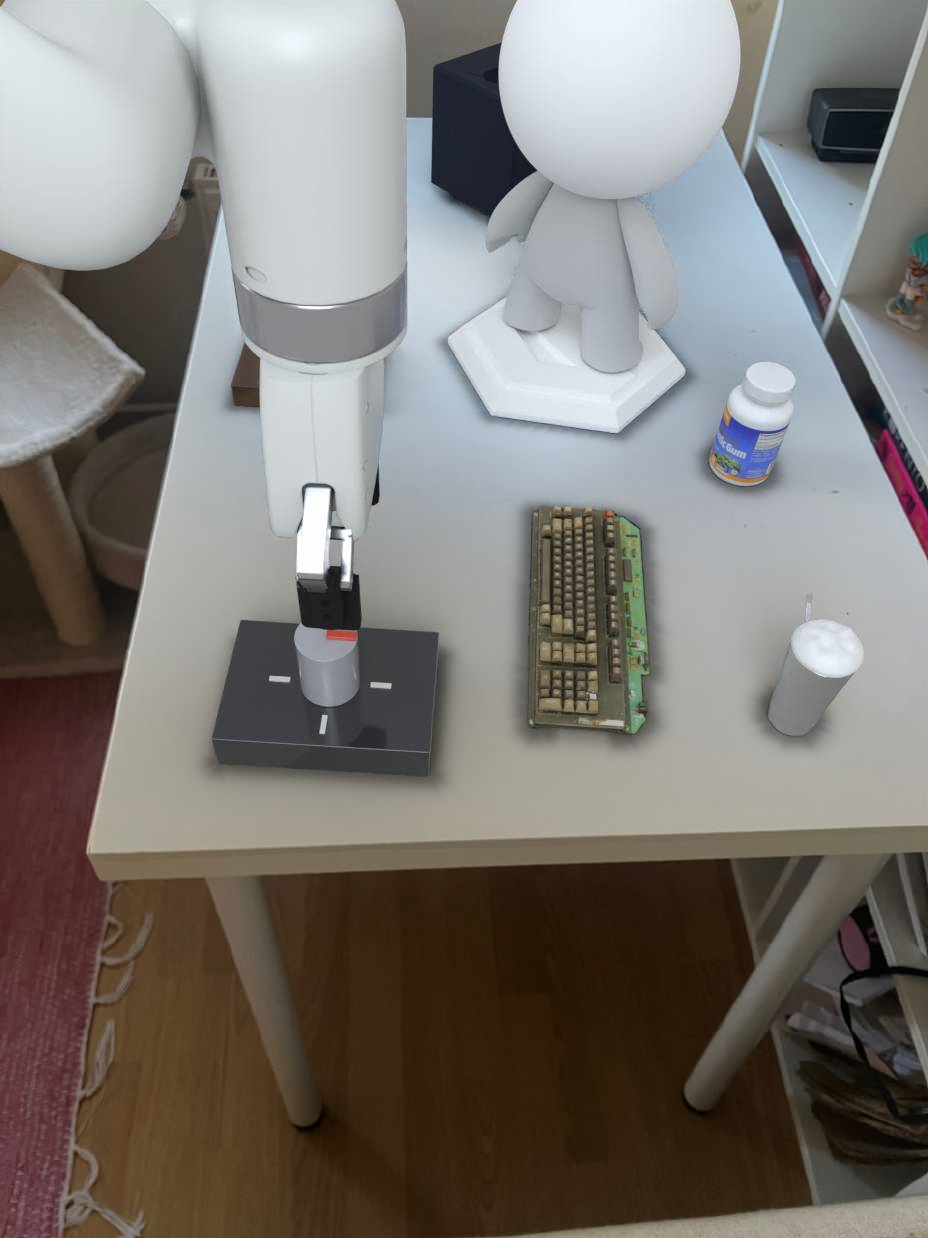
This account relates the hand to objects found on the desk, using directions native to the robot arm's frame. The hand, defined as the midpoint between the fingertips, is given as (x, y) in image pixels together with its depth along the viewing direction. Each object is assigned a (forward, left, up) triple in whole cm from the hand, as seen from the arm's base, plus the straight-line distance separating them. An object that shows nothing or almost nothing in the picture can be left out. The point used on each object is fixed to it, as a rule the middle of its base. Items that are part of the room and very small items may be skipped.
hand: (343, 559), depth 58 cm
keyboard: (+16, +10, -16) cm, 25 cm away
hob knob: (-2, 0, -12) cm, 13 cm away
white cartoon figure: (+15, +42, -16) cm, 48 cm away
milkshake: (+30, +2, -16) cm, 34 cm away
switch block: (-9, +37, -16) cm, 41 cm away
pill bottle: (+30, +28, -16) cm, 44 cm away
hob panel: (-2, 0, -16) cm, 16 cm away
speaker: (+12, +75, -16) cm, 78 cm away
